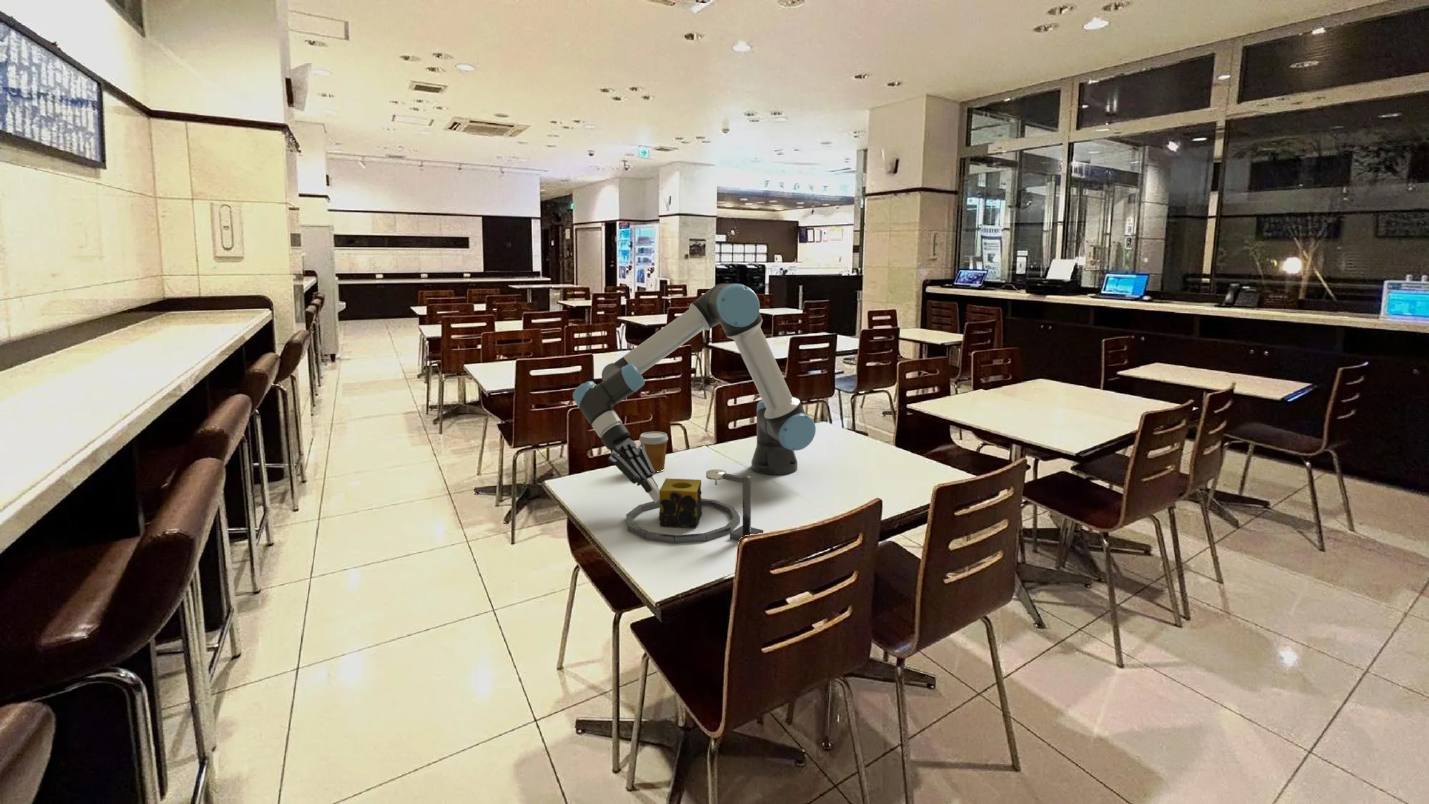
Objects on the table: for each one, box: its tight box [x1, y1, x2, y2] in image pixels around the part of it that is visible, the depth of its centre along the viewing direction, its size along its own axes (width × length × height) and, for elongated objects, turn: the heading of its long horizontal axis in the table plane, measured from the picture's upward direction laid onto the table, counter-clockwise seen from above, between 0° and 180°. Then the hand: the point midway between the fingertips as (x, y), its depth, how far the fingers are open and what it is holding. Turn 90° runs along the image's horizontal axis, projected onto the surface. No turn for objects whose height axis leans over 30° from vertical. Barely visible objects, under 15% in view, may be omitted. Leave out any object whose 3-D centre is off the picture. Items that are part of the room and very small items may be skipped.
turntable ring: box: [625, 497, 741, 544], centre depth 180 cm, size 29×29×2 cm
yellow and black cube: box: [658, 478, 703, 529], centre depth 179 cm, size 10×10×10 cm
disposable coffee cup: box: [638, 431, 669, 472], centre depth 225 cm, size 10×10×12 cm
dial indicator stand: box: [705, 468, 765, 542], centre depth 170 cm, size 14×6×16 cm, turn 55°
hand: (659, 500), depth 183 cm, fingers closed
